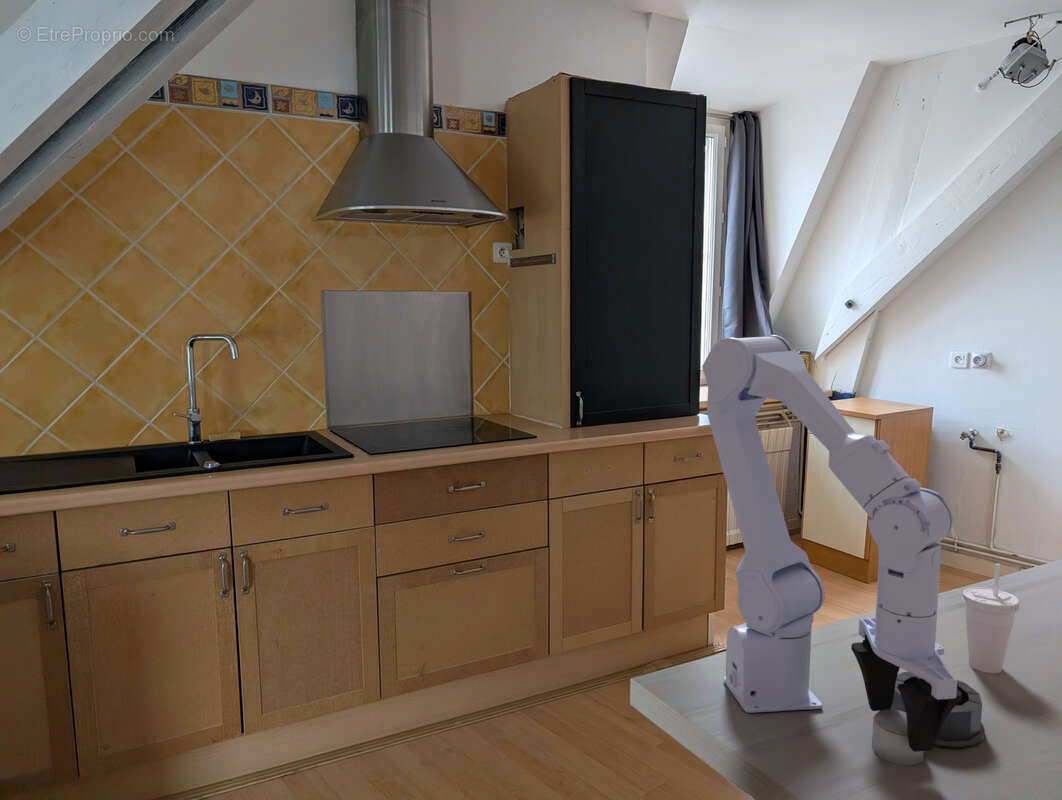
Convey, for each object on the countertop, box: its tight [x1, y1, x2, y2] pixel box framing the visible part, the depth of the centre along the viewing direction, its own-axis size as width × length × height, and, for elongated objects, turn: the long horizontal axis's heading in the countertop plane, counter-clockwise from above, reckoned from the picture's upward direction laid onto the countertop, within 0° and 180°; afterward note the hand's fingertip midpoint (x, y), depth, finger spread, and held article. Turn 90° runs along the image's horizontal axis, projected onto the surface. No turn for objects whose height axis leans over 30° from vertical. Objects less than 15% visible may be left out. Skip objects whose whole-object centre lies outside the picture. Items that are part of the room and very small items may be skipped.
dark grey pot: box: [890, 671, 986, 750], centre depth 86 cm, size 10×10×4 cm
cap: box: [871, 710, 925, 766], centre depth 81 cm, size 5×5×4 cm
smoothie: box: [961, 563, 1020, 674], centre depth 99 cm, size 6×6×14 cm
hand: (899, 728), depth 81 cm, fingers open, 7 cm apart
